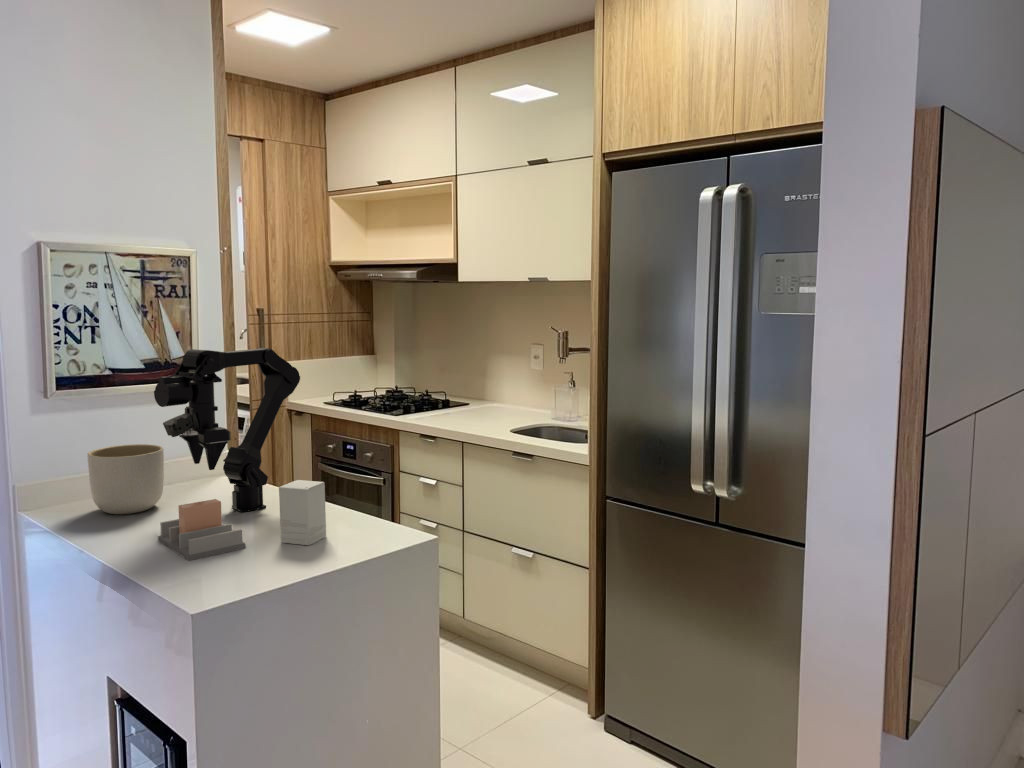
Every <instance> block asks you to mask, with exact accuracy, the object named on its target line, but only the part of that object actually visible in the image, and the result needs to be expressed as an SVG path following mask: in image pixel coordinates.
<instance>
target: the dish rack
mask: <svg viewBox="0 0 1024 768" xmlns="http://www.w3.org/2000/svg"><path fill="white" fill-rule="evenodd" d="M232 524H233V523H227V524H222V525H221V526H216V527H211V528H206V529H200V530H195V531H190V532H185V533H180V530H179V518H177V519H172V520H171V519H170V520H166V521H161V522H160V534H159V535H157V539H158V541H159V542H160V543H162V544H163V545H165V546H166V547H168V548H169V549H170V550H173V551H174V552H175V553H176V554H178V555H179V556H180V557H182V558H184V559H185V560H187V561H193V560H198V559H201V558H202V559H203V558H207V557H211V556H215V555H216V556H217V555H221V554H225V553H228V552H233V551H238V550H242V549H243V550H244V549H246V542H244V541H243V529H241V528H239V529H233V528H232V526H233V525H232Z"/></svg>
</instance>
